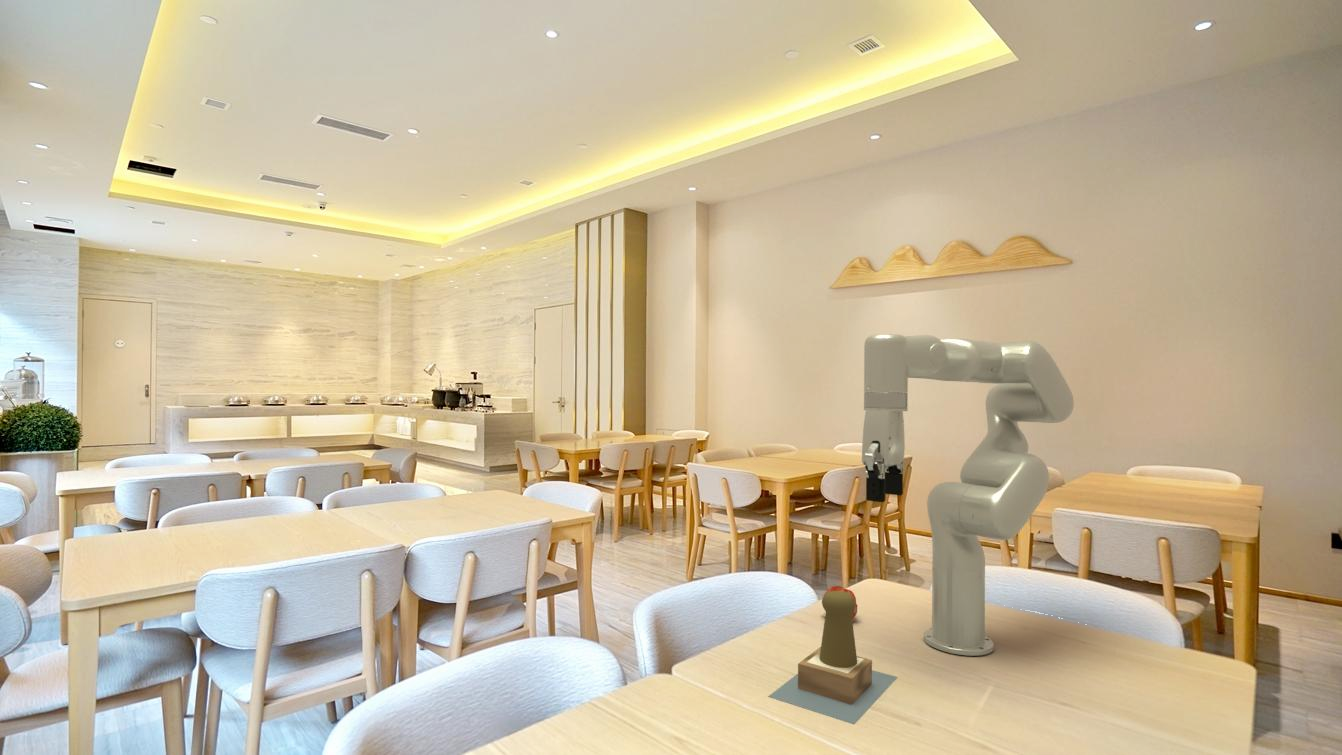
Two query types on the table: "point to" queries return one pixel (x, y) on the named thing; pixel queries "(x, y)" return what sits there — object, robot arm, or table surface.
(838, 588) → the pomegranate
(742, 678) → the table surface
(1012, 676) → the table surface
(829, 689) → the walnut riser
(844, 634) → the cork
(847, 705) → the board
